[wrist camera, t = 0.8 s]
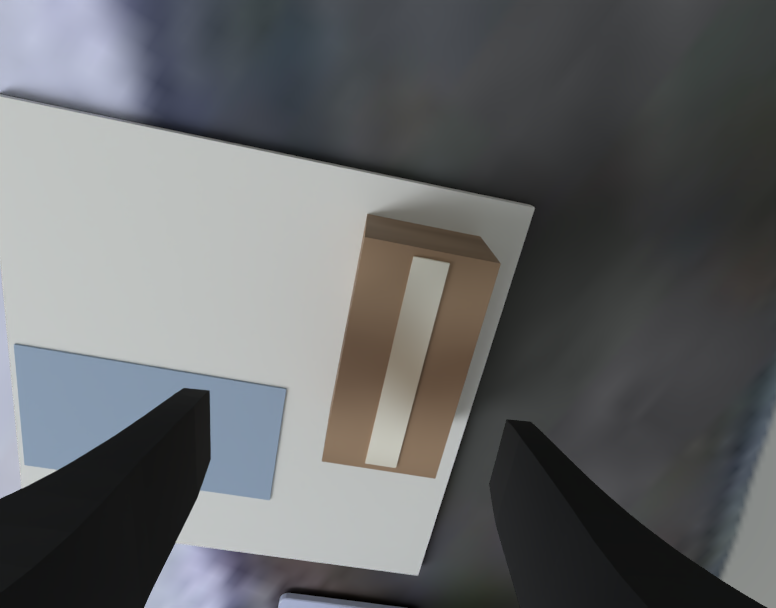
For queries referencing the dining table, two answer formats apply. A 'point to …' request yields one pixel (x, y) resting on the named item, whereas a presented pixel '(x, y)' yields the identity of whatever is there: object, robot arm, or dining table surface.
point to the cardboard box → (407, 345)
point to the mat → (215, 319)
